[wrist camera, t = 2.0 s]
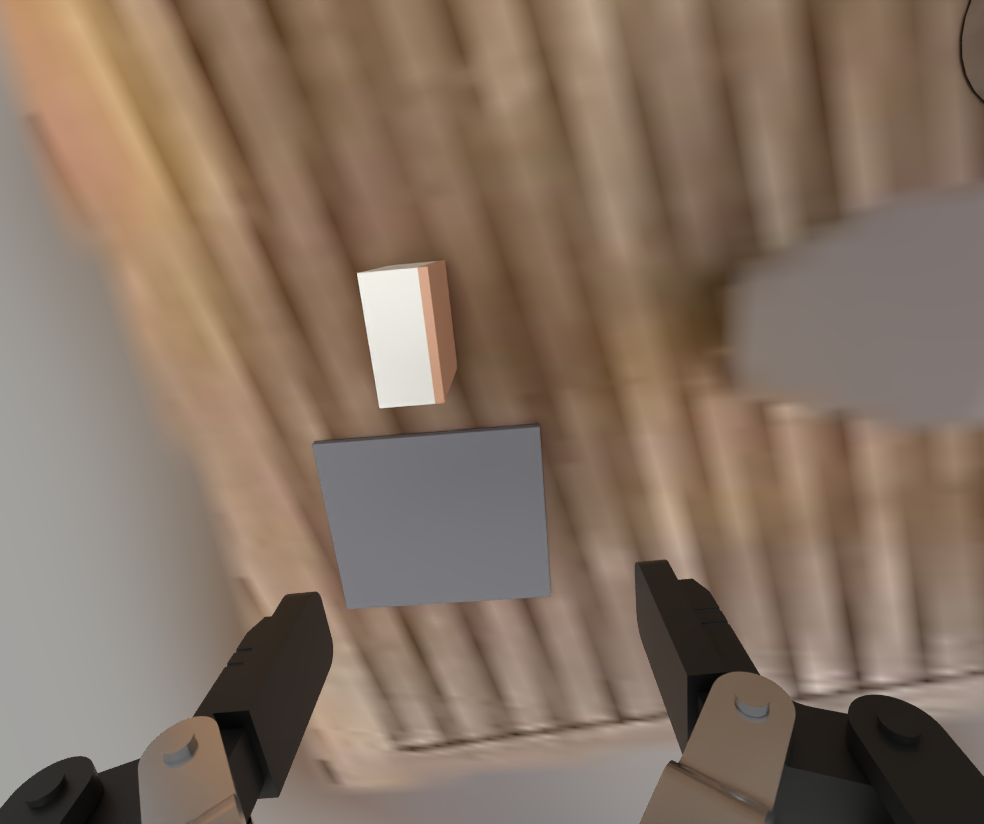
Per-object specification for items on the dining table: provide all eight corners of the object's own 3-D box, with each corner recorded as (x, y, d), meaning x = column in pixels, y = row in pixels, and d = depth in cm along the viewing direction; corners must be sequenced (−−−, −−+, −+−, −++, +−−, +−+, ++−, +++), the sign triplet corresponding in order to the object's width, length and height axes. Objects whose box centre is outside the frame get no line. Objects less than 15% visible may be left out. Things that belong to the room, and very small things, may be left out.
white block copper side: (390, 265, 33) (357, 273, 25) (445, 260, 33) (427, 266, 25) (406, 371, 35) (379, 408, 28) (457, 367, 35) (444, 402, 27)
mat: (314, 441, 37) (311, 444, 36) (539, 423, 36) (539, 426, 36) (349, 603, 41) (347, 609, 41) (550, 591, 41) (550, 596, 40)
